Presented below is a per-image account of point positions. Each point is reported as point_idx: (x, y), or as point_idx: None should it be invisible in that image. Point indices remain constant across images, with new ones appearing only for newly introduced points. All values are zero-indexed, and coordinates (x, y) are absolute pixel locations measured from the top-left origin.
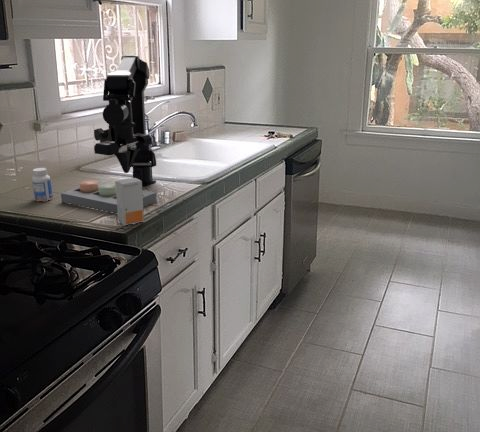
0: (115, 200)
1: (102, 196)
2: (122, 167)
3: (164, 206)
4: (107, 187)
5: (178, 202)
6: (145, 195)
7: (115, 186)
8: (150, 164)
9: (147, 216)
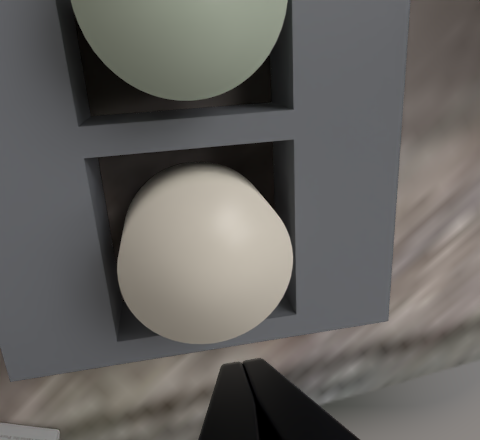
0: (61, 244)
1: (56, 47)
2: (207, 429)
3: (311, 377)
4: (155, 15)
5: (404, 380)
6: (297, 318)
7: (236, 65)
8: None
9: (124, 435)
